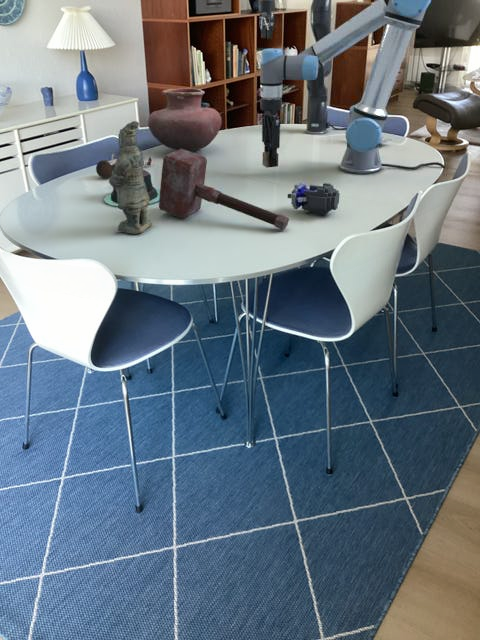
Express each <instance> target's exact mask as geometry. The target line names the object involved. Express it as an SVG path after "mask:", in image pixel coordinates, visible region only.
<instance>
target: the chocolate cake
mask: <svg viewBox="0 0 480 640" xmlns="http://www.w3.org/2000/svg"><path fill="white" fill-rule="evenodd" d="M113 175H114V172H113V173H112V176H113ZM143 178H144V182H145V184H146V188H147V192H148V195H149V197H150V204H154V203H157V202H159V198H160V188H156V187H154V185H153V182H152V174H151V172H149V171H148V170H146V169H144V168H143ZM103 200H104V202H105V203H106V204H108V205H109V206H115V207H118V202H117V192H116V189H115V188H114V187H112V191H111V193H108V194H107V195H106V196H104V198H103ZM150 204H149V205H150Z"/></svg>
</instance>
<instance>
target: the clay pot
mask: <svg viewBox="0 0 480 640" xmlns="http://www.w3.org/2000/svg"><path fill="white" fill-rule="evenodd" d="M205 92H206V91H204V90H202V89H199V88H193V87H191V88H189V87H187V88H172V89H163V90H162V92H161V93H162V94H163V95H165V97H166V99H167V105H166V107H165V108H163V109H159V110H155V111H153V112H151V113H150V114H149V116H148V117H147V119H148V120H147V127H148V129H149V131H150V133H151V135H152V136H153V137H154V138H155V139H156V140H157V142H159V143H160V144H161V145H163V146H165V147H166V148H169V149H171V150H174V151H177V150H179V149H184V150H187V151H190V152H192V153H194V152H197V151H201V150H202V149H204V148H206V147H207V146H209V145H210V144H211V143H212V142H213V141H214V139H215V138H216V137H217V136H218V133H219V131H220V129H221V127H222V122H223V120H222V116H221V114H220V113H219V112H218V111H217V110H216V109H215V108H212V107H202V99H203V96H204V94H205Z"/></svg>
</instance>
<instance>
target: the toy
mask: <svg viewBox="0 0 480 640" xmlns="http://www.w3.org/2000/svg"><path fill="white" fill-rule="evenodd" d="M293 187H294V188H293V189H292V191H291V193H288V194H287V199H291V200H290V201H291V202H290V203H291V206H292V207H293V210H298V209H299V208H301V210H303V211H306V212H307V214H310V215H311V214H312V215H318V216H326V215H328V213H330V212H331V211H336V210H337V209H338V205H339V204H340V194H341V193H340V190H338V189H337V188H335V187H334V184H332V183H328V182H324V183H322V185H315V184H310V185H309V186H308V187H309V188H308V187H307V185H306V184H305V183H304V181H301V180H299V181H298V182H296V183H295V184H294V186H293Z"/></svg>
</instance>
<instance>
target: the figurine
mask: <svg viewBox="0 0 480 640" xmlns="http://www.w3.org/2000/svg"><path fill="white" fill-rule="evenodd" d="M114 157H115V153H112V154H111V160H105V159H103V160H99V161H98V162H97V163H96V166H95V172H96V174H97V175H98V177H100V178H102V179H108V178H111V176H112V173H113V172H114V170H115V164H116V162H114ZM152 160H153V159H152V157H151V156H149V157H148V160H147V161H146V162H144V166H151V165H152Z"/></svg>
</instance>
